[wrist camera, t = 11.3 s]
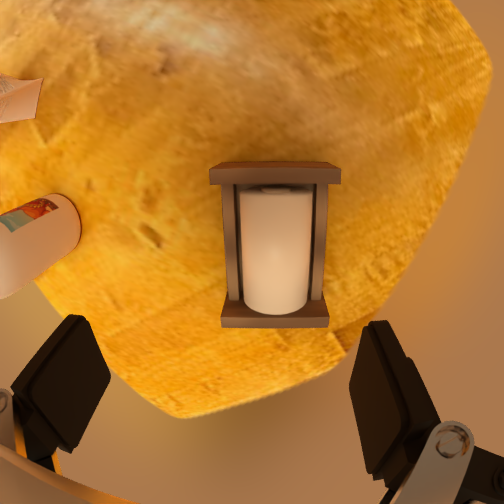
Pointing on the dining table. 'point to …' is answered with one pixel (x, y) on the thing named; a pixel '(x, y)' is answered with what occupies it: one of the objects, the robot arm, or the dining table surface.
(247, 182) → the cradle
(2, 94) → the skyscraper
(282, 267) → the roll
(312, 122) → the dining table surface
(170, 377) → the dining table surface
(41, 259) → the milk bottle
